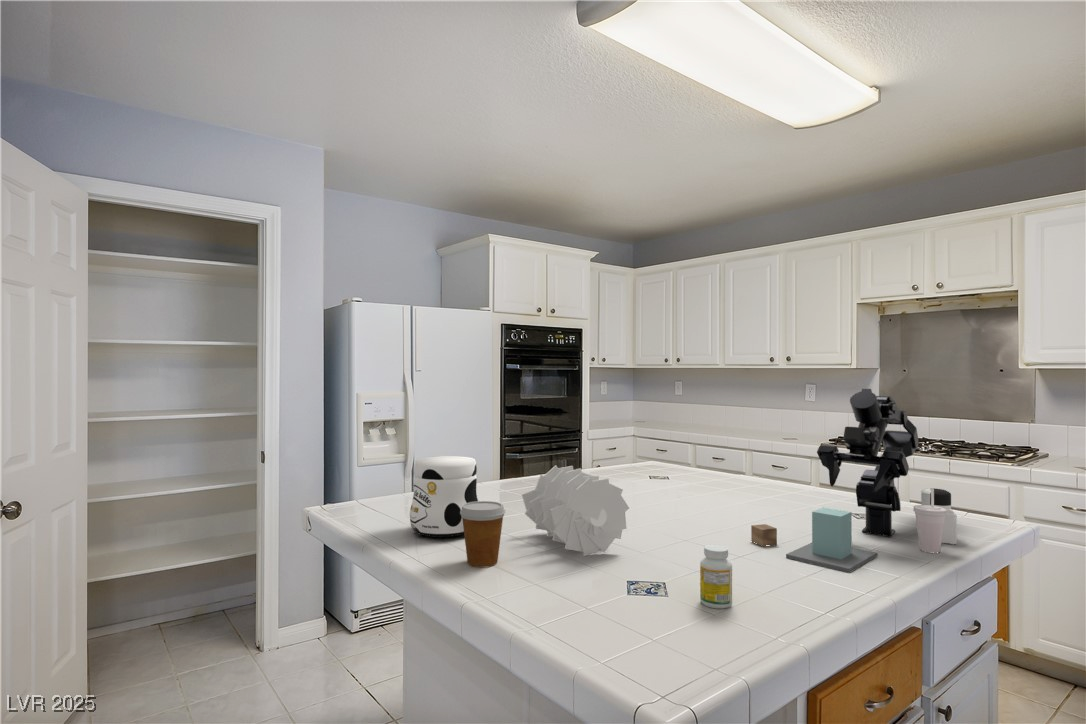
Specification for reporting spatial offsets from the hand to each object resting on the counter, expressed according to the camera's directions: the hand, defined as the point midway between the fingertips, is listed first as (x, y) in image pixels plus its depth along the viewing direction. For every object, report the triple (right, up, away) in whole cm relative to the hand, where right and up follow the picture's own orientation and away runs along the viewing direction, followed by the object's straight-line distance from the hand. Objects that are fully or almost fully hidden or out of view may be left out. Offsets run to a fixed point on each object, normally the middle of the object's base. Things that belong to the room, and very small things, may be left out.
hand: (851, 488), depth 138 cm
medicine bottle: (+24, -14, +7) cm, 28 cm away
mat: (-8, -13, -7) cm, 17 cm away
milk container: (-95, -14, +12) cm, 97 cm away
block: (-19, -14, +3) cm, 24 cm away
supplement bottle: (-41, -13, -34) cm, 55 cm away
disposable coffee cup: (-84, -13, -12) cm, 86 cm away
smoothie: (+16, -14, -3) cm, 21 cm away
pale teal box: (-8, -13, -7) cm, 17 cm away
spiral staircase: (-64, -14, +2) cm, 65 cm away
